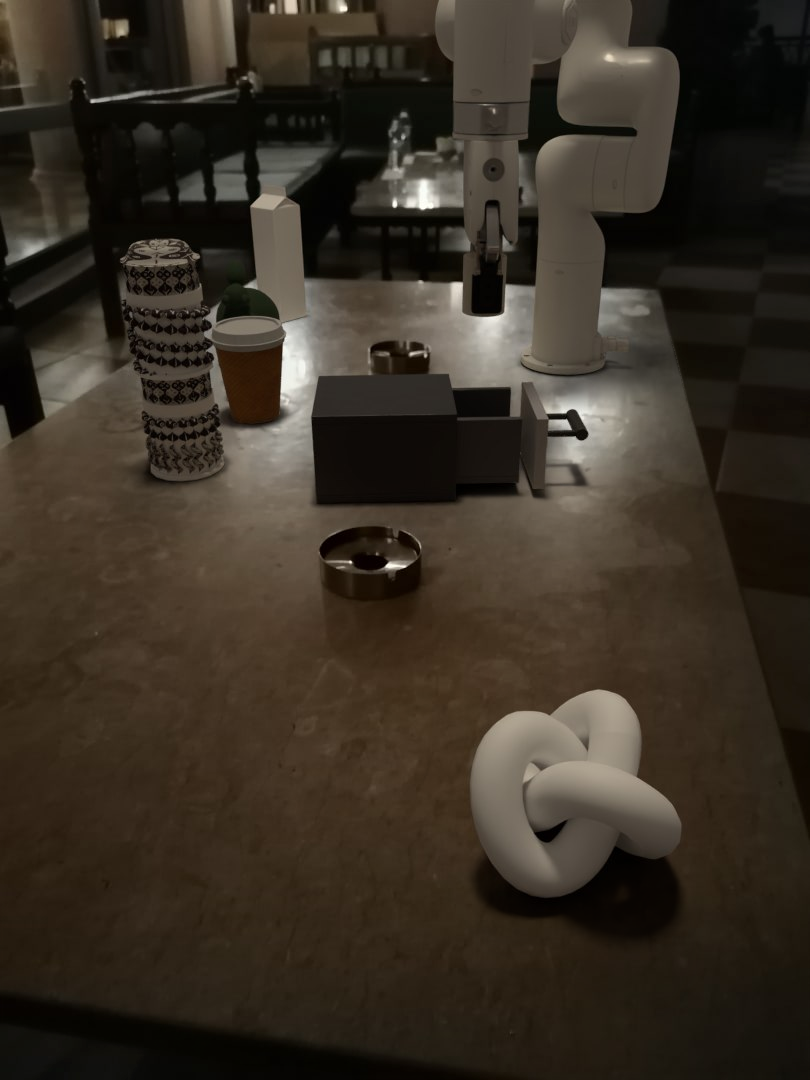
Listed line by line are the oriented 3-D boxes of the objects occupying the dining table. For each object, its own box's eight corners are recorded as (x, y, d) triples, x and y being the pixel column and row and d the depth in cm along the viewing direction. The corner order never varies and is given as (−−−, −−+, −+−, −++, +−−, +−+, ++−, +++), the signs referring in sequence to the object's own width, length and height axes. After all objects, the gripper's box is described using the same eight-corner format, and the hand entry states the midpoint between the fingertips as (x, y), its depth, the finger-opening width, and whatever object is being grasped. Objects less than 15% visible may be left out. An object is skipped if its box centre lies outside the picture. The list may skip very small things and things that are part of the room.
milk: (281, 323, 158) (270, 189, 148) (259, 317, 162) (247, 186, 151) (307, 316, 162) (298, 185, 151) (285, 310, 166) (275, 182, 155)
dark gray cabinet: (447, 453, 108) (448, 373, 103) (455, 500, 96) (457, 413, 92) (323, 455, 107) (318, 375, 103) (316, 503, 96) (311, 416, 91)
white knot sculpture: (529, 965, 48) (540, 844, 44) (427, 812, 57) (428, 700, 53) (697, 889, 52) (722, 771, 48) (576, 758, 62) (588, 651, 57)
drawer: (569, 445, 107) (575, 381, 103) (589, 487, 97) (596, 418, 93) (413, 448, 107) (412, 383, 103) (416, 491, 96) (416, 421, 93)
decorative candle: (130, 476, 103) (91, 248, 91) (175, 446, 110) (145, 232, 98) (200, 487, 100) (170, 254, 88) (241, 455, 107) (219, 237, 95)
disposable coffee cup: (278, 431, 114) (271, 337, 108) (207, 426, 116) (196, 333, 110) (301, 405, 122) (295, 316, 117) (234, 400, 124) (225, 313, 118)
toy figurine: (281, 408, 126) (283, 340, 147) (269, 272, 115) (273, 220, 136) (212, 411, 125) (224, 343, 146) (194, 275, 115) (210, 222, 135)
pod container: (501, 306, 101) (504, 250, 98) (506, 317, 97) (509, 259, 94) (460, 306, 101) (462, 251, 98) (463, 317, 97) (465, 259, 94)
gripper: (540, 128, 82) (528, 327, 91) (517, 117, 97) (509, 288, 106) (458, 129, 82) (454, 327, 91) (447, 117, 97) (445, 289, 106)
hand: (483, 304), depth 98 cm, fingers closed on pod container, 4 cm apart
